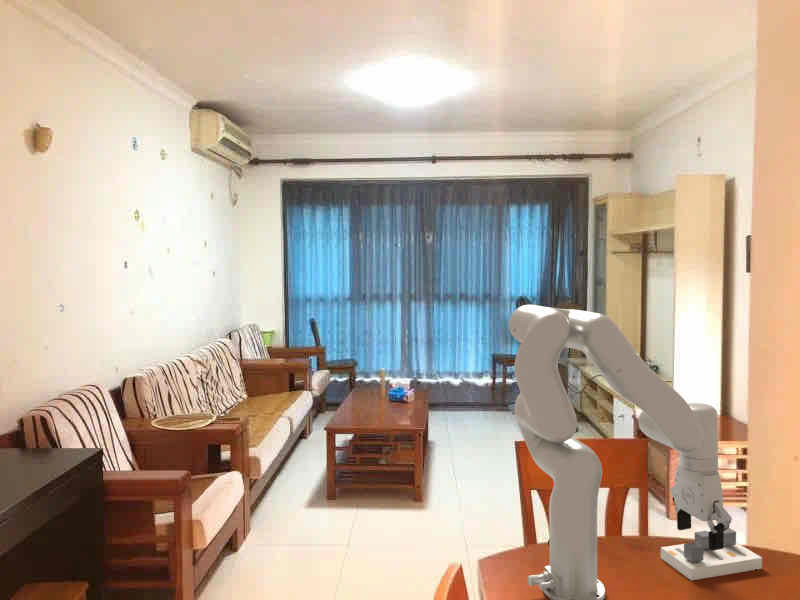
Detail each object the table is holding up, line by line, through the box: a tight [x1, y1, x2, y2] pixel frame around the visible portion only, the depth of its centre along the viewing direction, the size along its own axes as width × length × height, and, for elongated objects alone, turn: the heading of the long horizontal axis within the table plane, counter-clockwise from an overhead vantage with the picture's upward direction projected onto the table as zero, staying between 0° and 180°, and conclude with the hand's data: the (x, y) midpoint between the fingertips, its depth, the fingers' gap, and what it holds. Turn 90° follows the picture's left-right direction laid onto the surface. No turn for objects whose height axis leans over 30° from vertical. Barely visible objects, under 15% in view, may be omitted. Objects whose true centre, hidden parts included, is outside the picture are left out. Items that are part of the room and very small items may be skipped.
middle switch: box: [694, 530, 709, 550], centre depth 137 cm, size 3×2×3 cm
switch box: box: [660, 542, 763, 581], centre depth 136 cm, size 18×10×3 cm, turn 103°
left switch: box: [683, 541, 704, 562], centre depth 132 cm, size 3×2×3 cm
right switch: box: [724, 527, 737, 546], centre depth 139 cm, size 3×2×3 cm
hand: (699, 538), depth 131 cm, fingers open, 9 cm apart
